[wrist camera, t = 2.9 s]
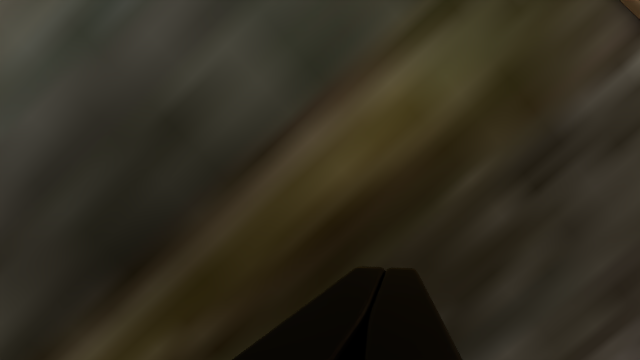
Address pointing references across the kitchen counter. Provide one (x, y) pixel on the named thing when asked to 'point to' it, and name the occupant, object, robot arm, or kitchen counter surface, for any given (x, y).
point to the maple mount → (633, 6)
